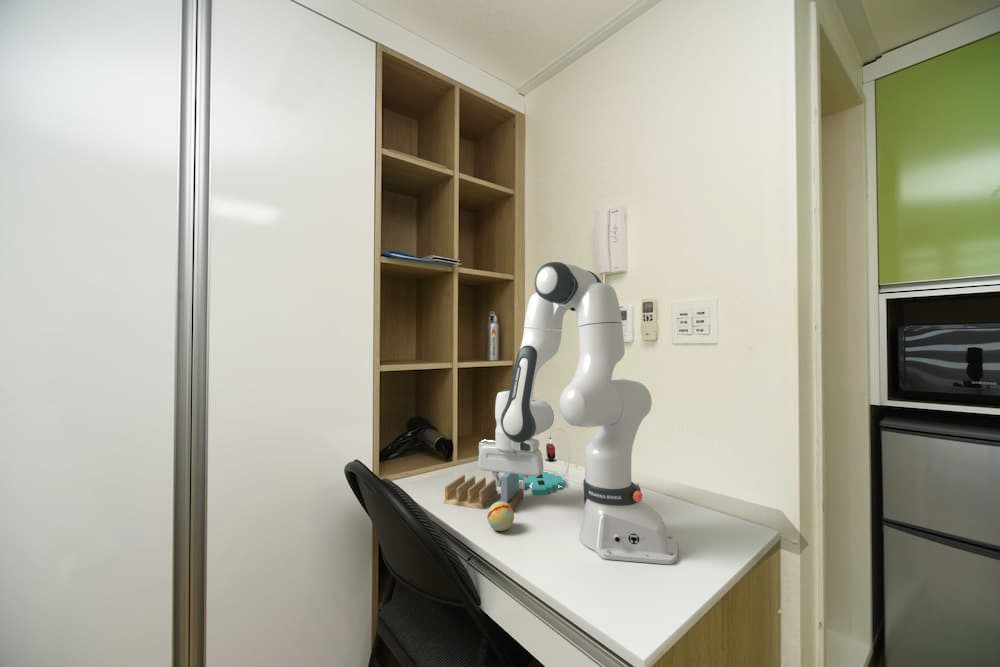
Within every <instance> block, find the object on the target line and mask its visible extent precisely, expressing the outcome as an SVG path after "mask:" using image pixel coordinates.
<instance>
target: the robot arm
mask: <svg viewBox="0 0 1000 667" xmlns="http://www.w3.org/2000/svg"><path fill="white" fill-rule="evenodd" d="M534 289H535V291H536V292H534V293H532V295H531V296H530V297H529V301H528V302H527V303H528V304H527V307H526V310H525V312H526V313H525V317H524V323H523V333H522V339H521V343H520V348H519V350H518V353H517V355H516V359H515V363H514V367H513V372H512V377H511V382H510V388H508V389H507V388H506V389H502V390H500V391H499V392H497V395H496V397H495V406H494V407H495V408H494V415H495V416H494V417H495V418H494V419H495V421H496V422H495V423H496V427H495V436H494V437H495V439H486V438H484V439H482V440H480V442H479V443H478V452H479V453H478V460H477V462H478V463H477V466H478V469H479V470H480V471H485V472H491V475H492V477H493V479H495V481H496V486H497V487H500V488H501V477H500V476H499V473H501V474H502V473H503V474H504V473H511V474H520V475H522V478H524V480H523V481H519V489H522V490H524V489H525V490H526V488H525V482H526V480H527V479H528V477H529V476H537V477H538V476H540V475H541V474H542V472H544V460H543V454H542V451H541V450H540V449H539V447H540V445H541V444H540V440H538V439H537V438H534V437H535V436H538V435H540V434H542V433H544V432H546V431H547V430H549V429H551V427H552V426H553V424H554V422H555V421H554V420H555V414H554V411H553V409H552V407H551V405H550V404H549V403H548V402H546V401H544V400H540V399H537V398H534V397H533V393H534V387H535V381H536V379H537V378H536V377H537V375H538V372H539V370H540V369H541V368H542V367H543V366H544V365H545V364H546V363H547V362H548V361H550V359H552V358H554V357H555V355H556V354H557V353H558V352H559V348H560V345H561V341H562V333H563V320H564V315H565V314H566V312H567V311H568V310H570V311H572V312H575V311H576V318H577V319H576V320H577V321H576V322H577V335H578V362H577V367H576V370H575V373H574V375H573V377H572V378H571V381H570V382H569V384H568V385H566V386H565V388H564V389H563V390H562V391H561V395H560V397H559V411H560V414H561V416H562V418H563V419H564V421H566V423H567V424H568V425H570V426H574V427H579V428H586V429H587V428H588V429H589V428H597V431H596V433H595V435H594V436H593V438H592V439H591V440H590V441H589V442H588V443H587V445H586V446H585V449H584V479H583V483H582V495H583V496H582V497H583V498H582V499H583V502H584V506H583V507H584V509H583V518H582V524H581V529H580V532H579V535H578V536H579V540H580V541H581V543H583V545H584V546H586V547H587V548H589V549H591V550H592V551H594V552H596V555H598V556H599V557H600V558H601V559H604V560H614V561H622V562H623V561H626V562H637V563H638V562H639V563H648V564H661V565H673V564H674V563H676V561H677V560H678V557H679V547H678V543H677V541H676V538H674V536H672V534H670V533H669V532H668V531H667V528H666V527H667V526H666V525H665V522H664V520H663V517H662V516H661V515H660V513H658V512H657V511H656V510H655V509H654V508H652V507H651V506H649V505H648V504H647V503H646V502H645V501H643V493H642V492H641V487H640V485H639V483H637V484H636V483H635V482H633V481H632V453H633V447H634V442H635V440H636V435H637V433H638V430H639V428H640V425H641V423H642V422H643V420H644V419H645V418H646V417H647V415H648V414H650V412H651V409H652V395H651V393H650V391H649V389H648V387H647V386H645V384H643V383H642V382H639V381H635V380H630V379H623V378H622V379H612V378H613V373H614V369H615V367H616V366H617V364H618V363H619V362H620V361H622V359H623V358H624V356H625V352H626V350H625V340H624V339H625V337H624V329H623V318H622V317H623V316H622V313H621V307H620V303H619V300H618V299H619V298H618V296H617V292H616V290H615V288H614V287H613V286H612V285H610V284H608V283H604V282H602V280H601V279H600V278H599V276H598V275H597V274H596V273H594V272H592V271H591V270H586V269H584V268H582V267H579V266H576V265H574V264H569V263H563V262H561V261H552V262H551V261H550V262H547V263H544V264H543V265H541V267H539V269H538V270H537V272H536V275H535V277H534ZM525 490H524V491H525Z"/></svg>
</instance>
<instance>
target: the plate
mask: <svg viewBox="0 0 1000 667" xmlns="http://www.w3.org/2000/svg"><path fill="white" fill-rule="evenodd" d="M500 479H501V487H500V498H501V501H502V502H506V503H509V502H510V501H511V500H512V499H513V498H514V497H515V495H516V494H517V493H518V492H519V491H520V490H519V483H520V481H519V474H511V473H503V474H502V475H501V476H500Z"/></svg>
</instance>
